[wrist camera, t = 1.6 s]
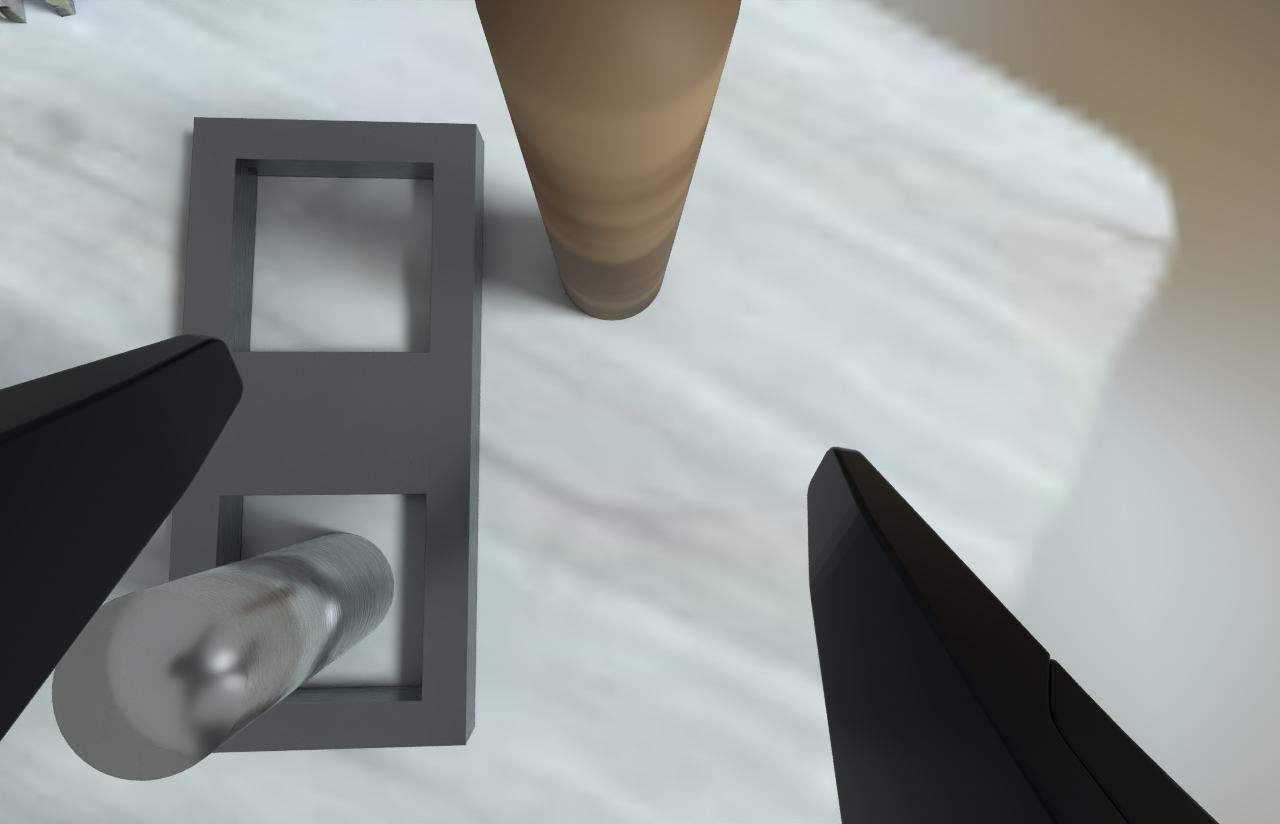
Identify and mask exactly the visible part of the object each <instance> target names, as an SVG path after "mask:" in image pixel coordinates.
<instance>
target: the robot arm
mask: <svg viewBox="0 0 1280 824" xmlns="http://www.w3.org/2000/svg"><path fill="white" fill-rule="evenodd" d="M243 388H244V387H243V381H242V379H241V376H240V374H239V371H238V369H237V367H236V364H235V362H234V360H233V357H232V355H231V352H230V350H229V348H228V346H227V344H226V343H225V342H224V341H223V340H221V339H219V338H216V337H211V336H205V335H200V334H184V335H180V336H177V337H174V338H170V339H167V340H164V341H160V342H157V343H154V344H150V345H147V346H144V347H140V348H137V349H134V350H130V351H127V352H124V353H120V354H117V355H114V356H110V357H107V358H104V359H101V360H97V361H94V362H91V363H87V364H84V365H81V366H77V367H74V368H71V369H67V370H64V371H61V372H57V373H54V374H51V375H47V376H44V377H41V378H37V379H34V380H31V381H27V382H24V383H21V384H17V385H14V386H11V387H7V388H4V389H1V390H0V741H1V740H2V739H3V737H4V736H5V735H6V733H7V732H8V730H9V729H10V728H11V726H12V725H13V724H14V722H15V721H16V720H17V718H18V717H19V716H20V714H21V713H22V712H23V710H24V709H25V708H26V706H27V705H28V704H29V702H30V701H31V699H32V698H33V697H34V695H35V694H36V693H37V691H38V690H39V689H40V687H41V686H42V685H43V683H44V682H45V681H46V679H47V678H48V677H49V675H50V674H51V673H52V671H53V670H54V668H55V667H56V666H57V664H58V663H59V662H60V660H61V659H62V658H63V656H64V655H65V654H66V652H67V651H68V650H69V648H70V647H71V646H72V644H73V643H74V641H75V640H76V639H77V637H78V636H79V635H80V633H81V632H82V631H83V629H84V628H85V627H86V625H87V624H88V623H89V621H90V620H91V619H92V617H93V616H94V615H95V613H96V612H97V610H98V609H99V608H100V606H101V605H102V604H103V602H104V601H105V600H106V598H107V597H108V596H109V594H110V593H111V592H112V590H113V589H114V588H115V586H116V585H117V584H118V582H119V581H120V579H121V578H122V577H123V575H124V574H125V573H126V571H127V570H128V569H129V567H130V566H131V565H132V563H133V562H134V561H135V559H136V558H137V557H138V555H139V554H140V552H141V551H142V550H143V548H144V547H145V546H146V544H147V543H148V542H149V540H150V539H151V538H152V536H153V535H154V534H155V532H156V531H157V530H158V528H159V527H160V526H161V524H162V523H163V521H164V520H165V519H166V517H167V516H168V515H169V513H170V512H171V511H172V509H173V508H174V507H175V505H176V504H177V503H178V501H179V500H180V499H181V497H182V496H183V494H184V493H185V491H186V490H187V489H188V487H189V486H190V484H191V483H192V481H193V480H194V478H195V476H196V475H197V473H198V472H199V470H200V468H201V467H202V465H203V463H204V461H205V460H206V458H207V456H208V455H209V453H210V451H211V450H212V448H213V446H214V444H215V443H216V441H217V439H218V438H219V436H220V434H221V432H222V431H223V429H224V427H225V426H226V424H227V422H228V420H229V419H230V417H231V415H232V414H233V412H234V410H235V408H236V407H237V405H238V403H239V402H240V400H241V398H242V394H243ZM807 505H808V557H809V586H810V596H811V604H812V611H813V618H814V626H815V633H816V640H817V647H818V655H819V662H820V669H821V676H822V683H823V691H824V698H825V705H826V712H827V720H828V727H829V734H830V741H831V748H832V756H833V763H834V770H835V777H836V785H837V792H838V799H839V806H840V813H841V821H842V824H1219V823H1218V822H1217V821H1216V820H1215V819H1214V818H1213V817H1211V816H1210V815H1209V814H1208V813H1207V812H1206V811H1205V810H1204V809H1203V808H1202V807H1201V806H1200V805H1199V804H1198V803H1197V802H1196V801H1195V800H1194V799H1192V797H1191V796H1190V795H1189V794H1187V793H1186V792H1185V791H1184V790H1183V789H1182V788H1181V787H1180V786H1179V785H1178V784H1177V783H1176V782H1175V781H1174V780H1173V779H1172V778H1171V777H1170V776H1169V775H1167V773H1166V772H1165V771H1164V770H1163V769H1162V768H1161V767H1160V766H1159V765H1158V764H1157V763H1156V762H1154V761H1153V760H1152V759H1151V758H1150V757H1149V756H1148V755H1147V754H1146V753H1145V752H1144V751H1143V750H1142V749H1141V748H1140V747H1139V746H1138V745H1137V744H1136V743H1135V742H1134V741H1133V740H1132V739H1131V738H1130V737H1129V736H1128V735H1127V734H1126V733H1125V732H1124V731H1123V730H1122V729H1121V728H1120V727H1119V726H1118V725H1117V724H1116V723H1115V722H1114V721H1113V720H1112V719H1111V718H1110V717H1109V715H1108V714H1107V713H1106V712H1105V711H1104V710H1103V709H1102V708H1101V707H1100V706H1099V705H1098V704H1097V703H1096V702H1095V701H1094V700H1093V699H1092V698H1091V697H1090V696H1089V695H1088V694H1087V693H1086V692H1085V691H1084V690H1083V689H1082V688H1081V686H1079V684H1078V683H1077V682H1076V681H1075V680H1074V679H1073V678H1072V677H1071V676H1070V675H1069V674H1068V673H1067V672H1066V671H1065V669H1063V667H1061V665H1060V664H1059V663H1058V662H1057V661H1056V660H1054V659H1050V654H1049V653H1048V652H1047V651H1046V649H1045V648H1044V647H1043V646H1042V645H1041V644H1040V643H1039V642H1038V641H1037V640H1036V639H1035V638H1034V637H1033V636H1032V635H1031V634H1030V632H1029V631H1028V630H1027V629H1026V628H1025V627H1024V626H1023V625H1022V624H1021V623H1020V622H1019V621H1018V620H1017V619H1016V617H1015V616H1014V615H1013V614H1012V613H1011V612H1010V611H1009V610H1008V609H1007V608H1006V607H1005V606H1004V605H1003V604H1002V603H1001V601H1000V600H999V599H998V598H997V597H996V596H995V595H994V594H993V593H992V592H991V591H990V590H989V589H988V588H987V587H986V585H985V584H984V583H983V582H982V581H981V580H980V579H979V578H978V577H977V576H976V575H975V574H974V573H973V572H972V571H971V569H970V568H969V567H968V566H967V565H966V564H965V563H964V562H963V561H962V560H961V559H960V558H959V557H958V556H957V555H956V553H955V552H954V551H953V550H952V549H951V548H950V547H949V546H948V545H947V544H946V543H945V542H944V541H943V540H942V539H941V537H940V536H939V535H938V534H937V533H936V532H935V531H934V530H933V529H932V528H931V527H930V526H929V525H928V524H927V523H926V521H925V520H924V519H923V518H922V517H921V516H920V515H919V514H918V513H917V512H916V511H915V510H914V509H913V508H912V507H911V505H910V504H909V503H908V502H907V501H906V500H905V499H904V498H903V497H902V496H901V495H900V494H899V493H898V492H897V491H896V489H895V488H894V487H893V486H892V485H891V484H890V483H889V482H888V481H887V480H886V479H885V478H884V477H883V476H882V475H881V473H880V472H879V471H878V470H877V469H876V468H875V467H874V466H873V465H872V464H871V463H870V462H869V461H868V460H867V459H866V457H865V456H864V455H863V454H861V453H860V452H859V451H857V450H852V449H847V448H841V447H832V448H830V449H829V450H828V451H827V452H826V454H825V456H824V457H823V459H822V461H821V463H820V465H819V467H818V468H817V470H816V472H815V474H814V476H813V478H812V479H811V481H810V484H809V488H808V494H807Z"/></svg>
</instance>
